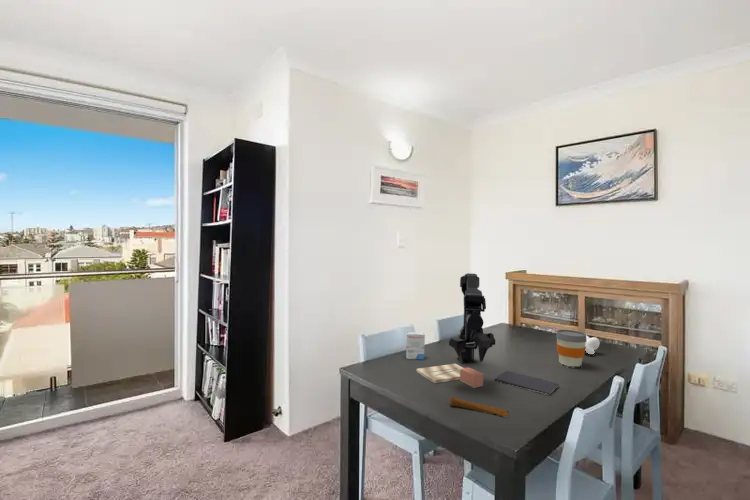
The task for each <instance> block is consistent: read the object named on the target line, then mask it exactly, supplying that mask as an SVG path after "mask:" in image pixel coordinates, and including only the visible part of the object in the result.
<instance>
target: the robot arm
mask: <svg viewBox="0 0 750 500" xmlns="http://www.w3.org/2000/svg"><path fill="white" fill-rule="evenodd" d="M459 287H460V288H461V292H462V295H463V323H462V324H463V325H462V327H461V328H460V330H459V334H458V337H450V339H449V340H448V346H450V347H451V348H453V349H454V351H455V352H456V353H455V354H456V355H457V358H456V359H457V360H459V362H460V364H461V365H464V363H465V364H467V363H474V362H477V360H476V359H475V350H478V357H479V358H478V359H479V362H480V363H482V362H483V361H484V359H485V356H486V353H487V351H488V350H489V349H490V348H492V347H493V346H496V339H495V337H494V336H495V335H494V334H493V333H492V332H489V333H488V332H485V333H484V329H483V326H484V319H483V317H482V313H481V312H483V313H484V312H485V311H486V308H487V305H486V304H487V303H486V298H485V295H483V292H482V290H480V289H479V288H480V277H479V276H478V274H477V273H469V272H468V273H467V272H466V273H465V274H464V275H462V276H461V277H460V280H459Z"/></svg>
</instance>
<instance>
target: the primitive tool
mask: <svg viewBox="0 0 750 500" xmlns="http://www.w3.org/2000/svg"><path fill="white" fill-rule="evenodd" d="M449 405H450V407H451V408H452V407H458V408H463V409H466V410H470V411H475V410H476V412H480V411H481V413H484V412H486V413H485V414H488V413H491V414H490V415H493V414H496V415H495V416H497V415H499V416H498V417H500V416H509V415H510V414H509V415H508V413H506V412H507V409H505V408H500V407H496V406H491V405H486V404H480V403H477V402H472V401H468V400H464V399H461V398H460V399H459V398H456V397H455V396H451V398H450V400H449ZM505 411H506V412H505ZM509 417H510V416H509Z"/></svg>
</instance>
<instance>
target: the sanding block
mask: <svg viewBox="0 0 750 500" xmlns="http://www.w3.org/2000/svg"><path fill="white" fill-rule="evenodd" d="M459 381H460V382H461V383H464V384H466V385H467V386H469V387H471V388H473V389H476V388H479V387H484V373H483V372H481V371H479V370H475V369H473V368H471V367H463V369H460V379H459Z"/></svg>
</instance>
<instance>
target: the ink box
mask: <svg viewBox="0 0 750 500" xmlns="http://www.w3.org/2000/svg"><path fill="white" fill-rule="evenodd" d="M425 335H426V334H425V332H413V331H412V332H411V331H410V332H409V331H408V332H406V346H405V347H406V353H405V357H406V359H409V360H425V348H426V347H425V343H426V342H425V338H426V337H425Z"/></svg>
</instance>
